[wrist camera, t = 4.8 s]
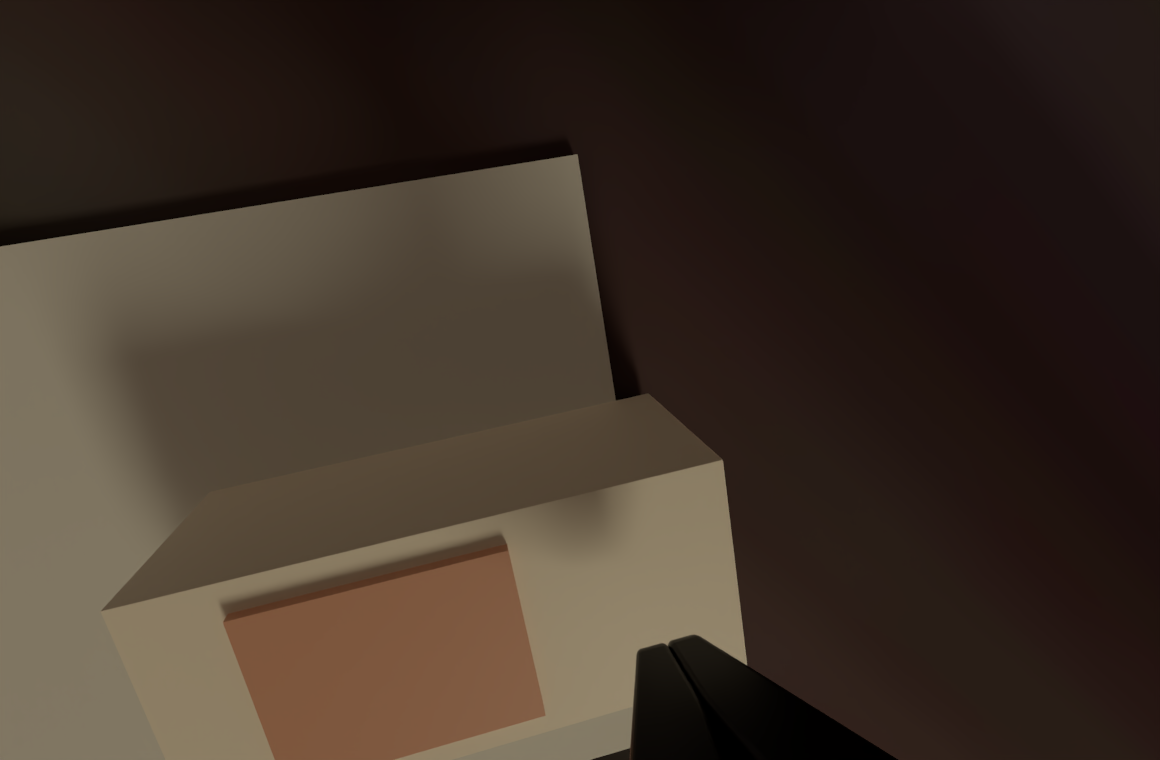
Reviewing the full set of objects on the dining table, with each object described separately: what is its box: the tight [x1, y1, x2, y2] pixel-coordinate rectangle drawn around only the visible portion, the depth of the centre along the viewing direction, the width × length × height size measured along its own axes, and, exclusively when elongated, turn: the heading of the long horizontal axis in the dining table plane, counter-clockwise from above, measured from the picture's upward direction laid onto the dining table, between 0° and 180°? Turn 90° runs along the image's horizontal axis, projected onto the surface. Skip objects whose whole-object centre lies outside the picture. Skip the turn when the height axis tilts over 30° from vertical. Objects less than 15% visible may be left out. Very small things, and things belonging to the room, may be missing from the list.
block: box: [100, 394, 747, 760], centre depth 12 cm, size 4×4×9 cm
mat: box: [0, 154, 633, 760], centre depth 13 cm, size 14×14×1 cm
